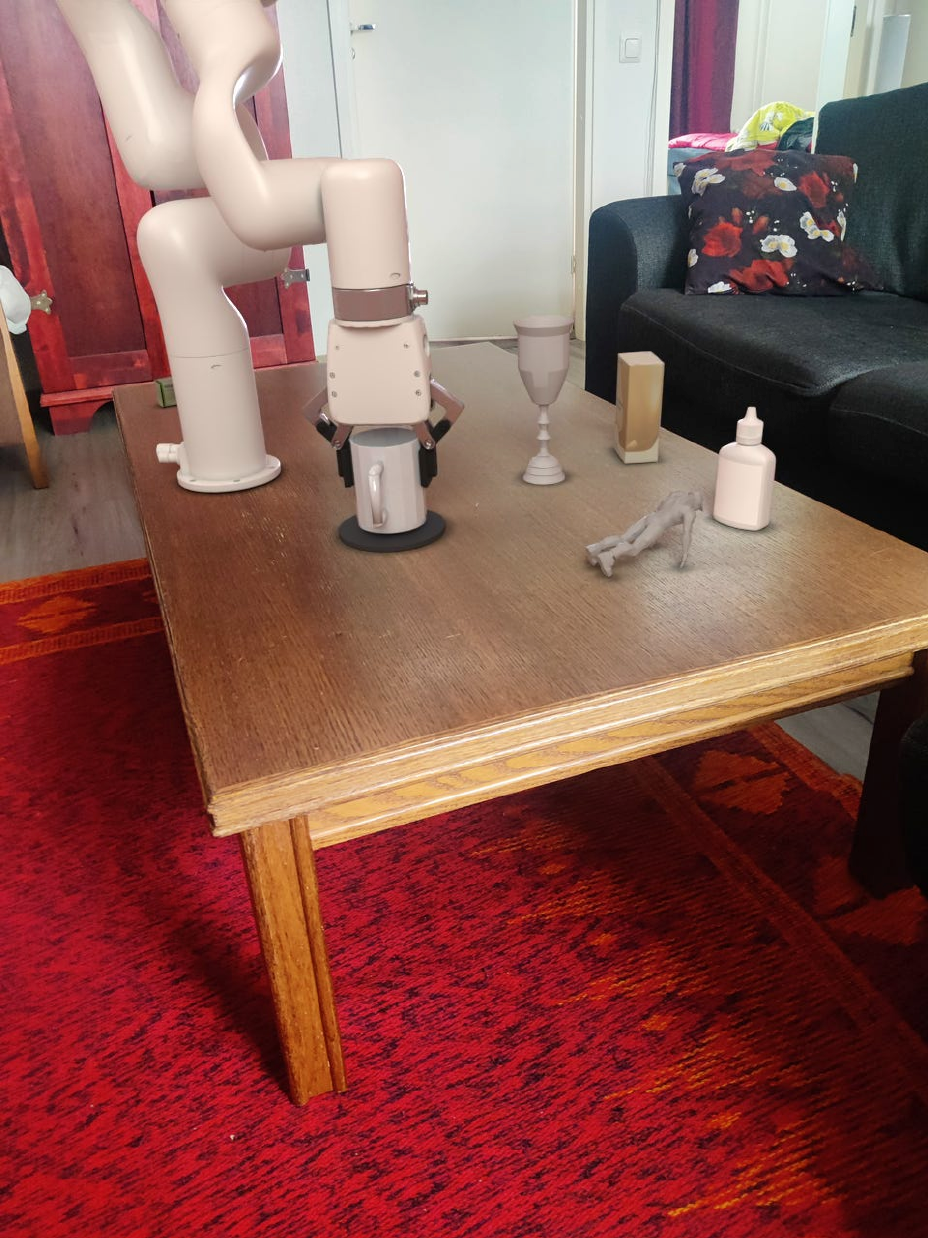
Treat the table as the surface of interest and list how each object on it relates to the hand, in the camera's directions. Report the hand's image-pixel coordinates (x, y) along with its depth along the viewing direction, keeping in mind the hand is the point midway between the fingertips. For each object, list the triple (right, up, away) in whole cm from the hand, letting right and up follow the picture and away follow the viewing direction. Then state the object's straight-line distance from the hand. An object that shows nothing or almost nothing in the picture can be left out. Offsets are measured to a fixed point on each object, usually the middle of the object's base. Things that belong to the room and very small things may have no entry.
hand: (389, 482), depth 97 cm
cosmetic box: (+29, +6, +21) cm, 37 cm away
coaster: (0, -5, +3) cm, 5 cm away
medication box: (-36, +21, +56) cm, 69 cm away
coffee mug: (0, -4, +1) cm, 4 cm away
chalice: (+17, +3, +15) cm, 23 cm away
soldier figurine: (+25, -9, -7) cm, 27 cm away
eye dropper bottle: (+36, -4, 0) cm, 36 cm away
